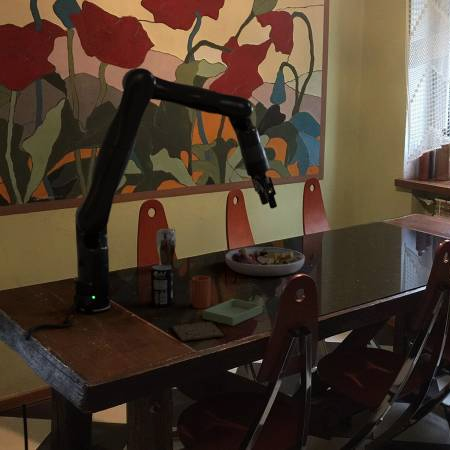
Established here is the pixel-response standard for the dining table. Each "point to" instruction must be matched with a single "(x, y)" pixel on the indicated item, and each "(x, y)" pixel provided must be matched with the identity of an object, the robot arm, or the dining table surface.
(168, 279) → the beverage can
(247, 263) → the bowl
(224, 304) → the tray
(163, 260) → the beer glass
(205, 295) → the cup
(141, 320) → the dining table surface
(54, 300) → the dining table surface
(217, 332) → the speckled square tile
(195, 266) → the dining table surface
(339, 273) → the dining table surface
